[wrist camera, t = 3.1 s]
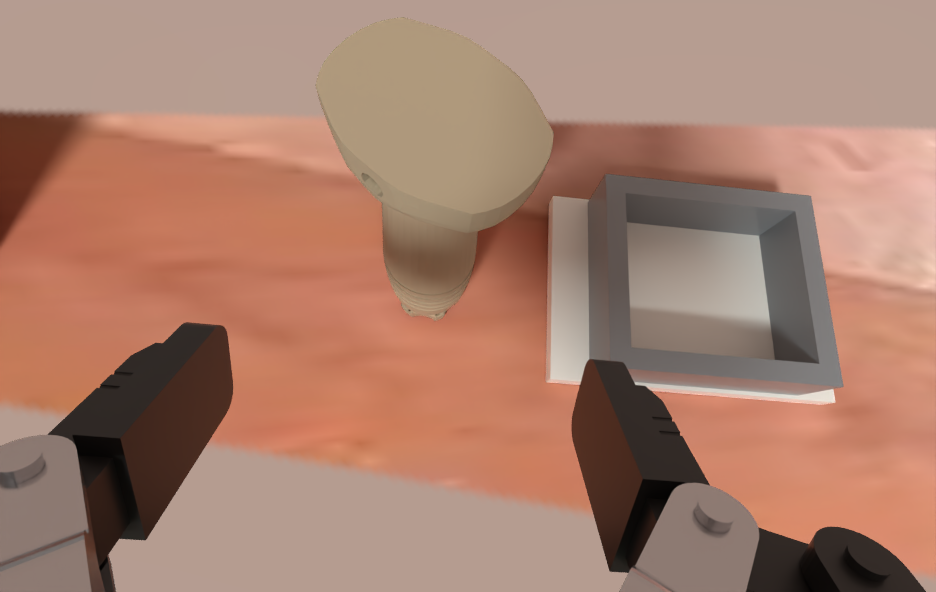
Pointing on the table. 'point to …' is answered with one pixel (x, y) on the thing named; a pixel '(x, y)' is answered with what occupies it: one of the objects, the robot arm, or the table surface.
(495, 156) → the handle
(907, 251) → the table surface
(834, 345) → the holder
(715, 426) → the table surface
